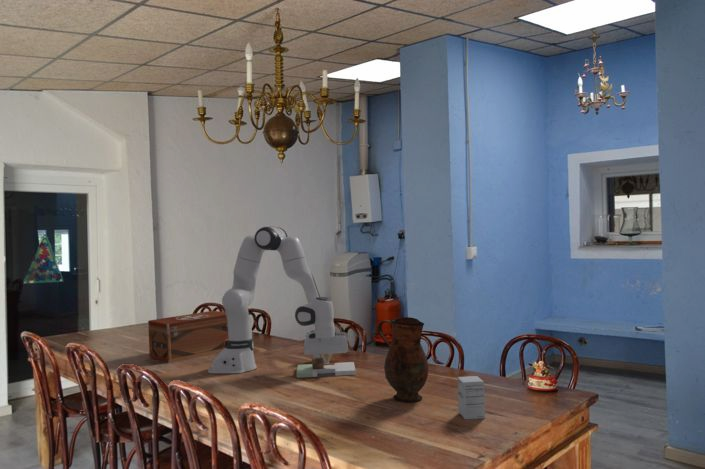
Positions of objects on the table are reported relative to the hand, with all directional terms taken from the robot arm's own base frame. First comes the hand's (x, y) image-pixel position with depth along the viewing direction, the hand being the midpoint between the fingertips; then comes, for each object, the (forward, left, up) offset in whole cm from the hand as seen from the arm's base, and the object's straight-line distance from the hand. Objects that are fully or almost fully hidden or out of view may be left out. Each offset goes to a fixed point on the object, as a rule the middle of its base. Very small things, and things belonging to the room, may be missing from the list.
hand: (326, 363), depth 273 cm
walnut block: (-4, 0, -2) cm, 4 cm away
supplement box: (+49, -71, -4) cm, 86 cm away
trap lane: (0, 0, -4) cm, 4 cm away
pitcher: (+29, -46, -4) cm, 54 cm away
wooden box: (-72, +55, -4) cm, 90 cm away
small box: (-1, +22, -4) cm, 22 cm away
